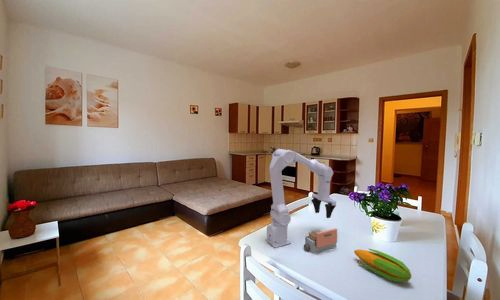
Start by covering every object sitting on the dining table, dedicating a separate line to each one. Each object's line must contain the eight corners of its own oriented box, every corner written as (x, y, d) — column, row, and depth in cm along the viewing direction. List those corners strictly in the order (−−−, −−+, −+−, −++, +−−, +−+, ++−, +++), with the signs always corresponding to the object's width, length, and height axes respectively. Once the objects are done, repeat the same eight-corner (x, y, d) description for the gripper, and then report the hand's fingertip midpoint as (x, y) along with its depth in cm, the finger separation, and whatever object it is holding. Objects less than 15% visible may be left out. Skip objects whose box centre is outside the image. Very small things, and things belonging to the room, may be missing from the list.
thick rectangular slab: (318, 248, 92) (318, 234, 92) (316, 246, 93) (316, 233, 93) (337, 242, 97) (337, 229, 97) (335, 241, 98) (335, 228, 98)
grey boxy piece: (310, 254, 92) (311, 241, 92) (303, 248, 97) (303, 236, 96) (338, 246, 100) (338, 234, 99) (329, 241, 104) (330, 230, 104)
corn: (407, 268, 71) (349, 243, 87) (405, 291, 71) (347, 261, 87) (415, 263, 75) (359, 239, 91) (413, 284, 75) (357, 257, 92)
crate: (314, 245, 94) (315, 236, 93) (308, 241, 97) (308, 233, 97) (321, 243, 96) (322, 235, 95) (315, 239, 99) (315, 231, 99)
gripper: (341, 191, 106) (339, 218, 107) (319, 185, 119) (318, 209, 119) (330, 193, 102) (329, 221, 103) (309, 186, 115) (308, 211, 116)
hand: (322, 215), depth 111 cm, fingers open, 7 cm apart
